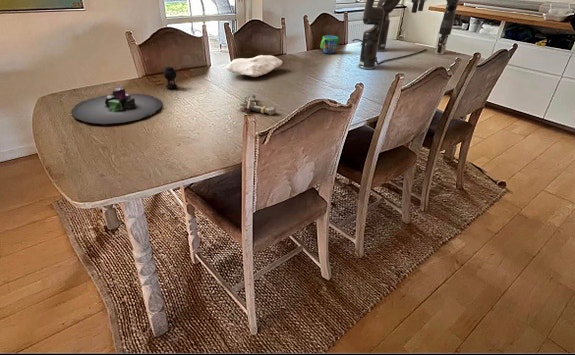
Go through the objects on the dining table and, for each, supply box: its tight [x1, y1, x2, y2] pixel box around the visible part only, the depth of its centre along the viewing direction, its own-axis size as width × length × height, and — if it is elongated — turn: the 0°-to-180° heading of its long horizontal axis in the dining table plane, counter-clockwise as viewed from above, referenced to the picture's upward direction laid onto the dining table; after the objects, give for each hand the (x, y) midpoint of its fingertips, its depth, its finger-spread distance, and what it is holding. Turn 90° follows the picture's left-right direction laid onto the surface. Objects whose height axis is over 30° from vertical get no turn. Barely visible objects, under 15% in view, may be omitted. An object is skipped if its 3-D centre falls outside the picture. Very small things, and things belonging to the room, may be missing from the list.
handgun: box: [239, 93, 277, 116], centre depth 158 cm, size 3×18×15 cm
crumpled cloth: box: [225, 54, 283, 78], centre depth 198 cm, size 24×35×9 cm
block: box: [434, 45, 447, 55], centre depth 254 cm, size 5×5×5 cm
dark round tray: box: [70, 86, 163, 125], centre depth 150 cm, size 35×35×9 cm
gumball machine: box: [161, 66, 179, 90], centre depth 173 cm, size 7×6×10 cm
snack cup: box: [319, 34, 340, 55], centre depth 242 cm, size 16×10×10 cm
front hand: (417, 11), depth 171 cm, fingers open, 8 cm apart
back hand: (440, 51), depth 255 cm, fingers open, 6 cm apart
